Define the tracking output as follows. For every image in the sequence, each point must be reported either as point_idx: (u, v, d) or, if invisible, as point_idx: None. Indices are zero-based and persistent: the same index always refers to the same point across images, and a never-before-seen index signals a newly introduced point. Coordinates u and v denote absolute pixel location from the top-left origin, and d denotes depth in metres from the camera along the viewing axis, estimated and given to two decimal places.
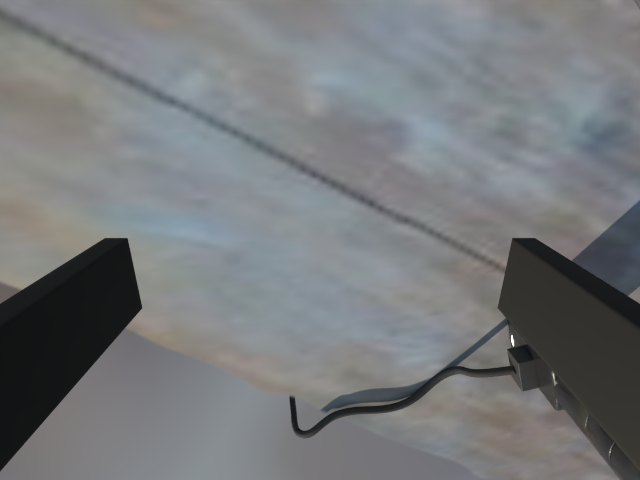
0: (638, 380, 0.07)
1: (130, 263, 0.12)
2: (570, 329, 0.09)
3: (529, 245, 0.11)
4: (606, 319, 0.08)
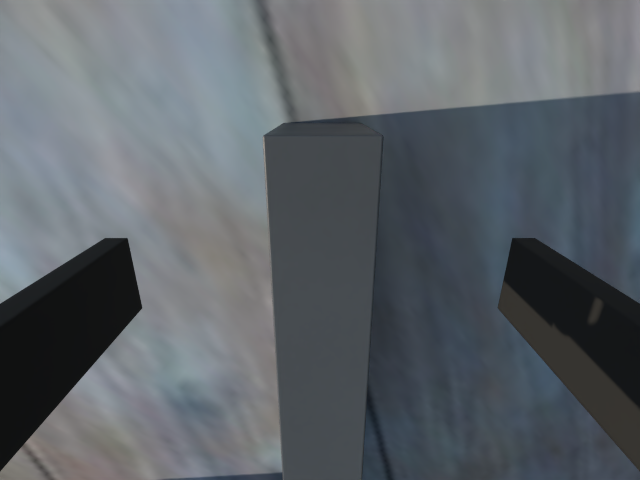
0: (638, 380, 0.07)
1: (130, 263, 0.12)
2: (570, 329, 0.09)
3: (529, 245, 0.11)
4: (606, 319, 0.08)
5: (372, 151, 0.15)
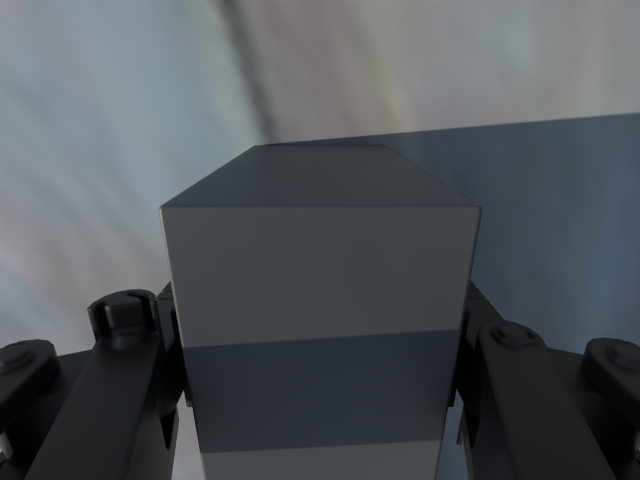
0: None
1: None
2: None
3: None
4: None
5: (450, 246, 0.06)
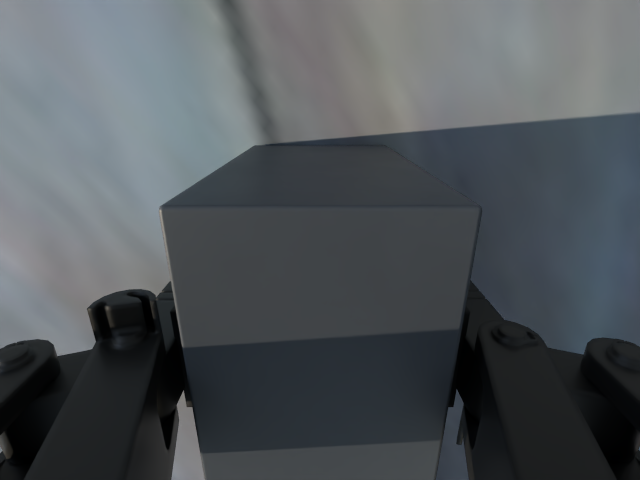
0: None
1: None
2: None
3: None
4: None
5: (450, 246, 0.06)
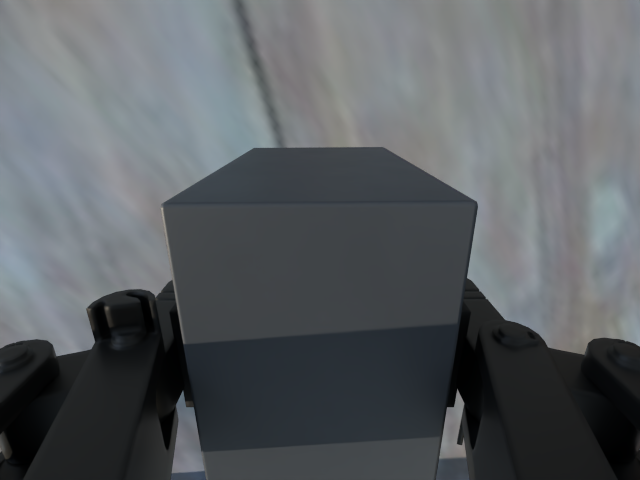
0: None
1: None
2: None
3: None
4: None
5: (447, 241, 0.06)
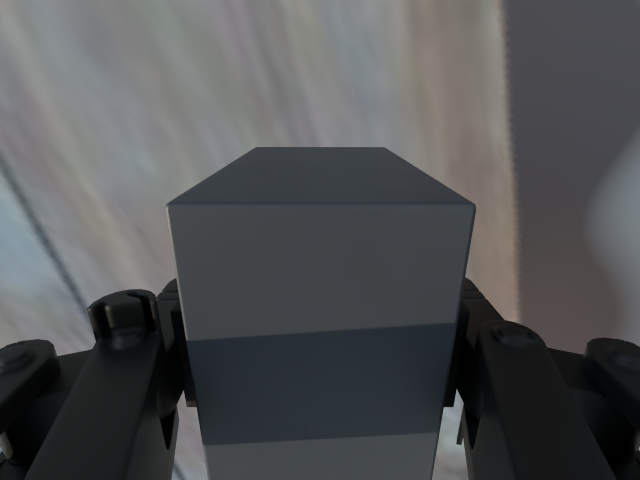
0: None
1: None
2: None
3: None
4: None
5: (445, 243, 0.06)
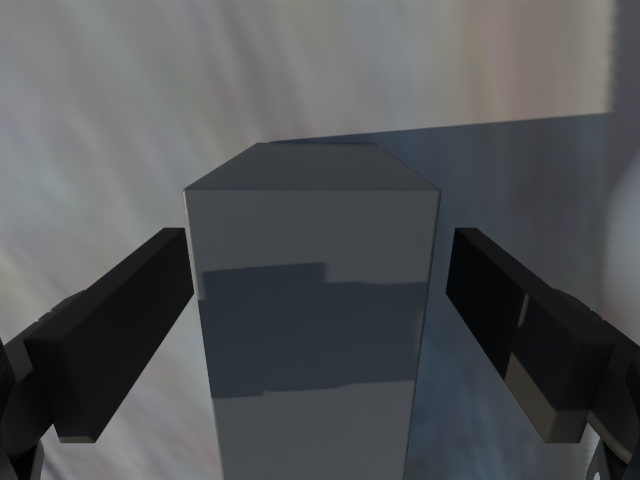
0: (532, 346, 0.08)
1: (186, 250, 0.13)
2: (491, 307, 0.10)
3: (468, 233, 0.12)
4: (513, 295, 0.09)
5: (416, 222, 0.07)
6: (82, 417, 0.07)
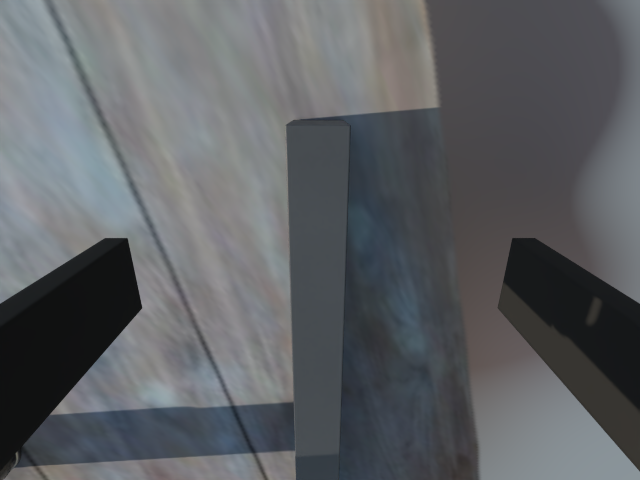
0: (638, 380, 0.07)
1: (130, 263, 0.12)
2: (570, 329, 0.09)
3: (529, 245, 0.11)
4: (606, 319, 0.08)
5: (344, 134, 0.27)
6: None
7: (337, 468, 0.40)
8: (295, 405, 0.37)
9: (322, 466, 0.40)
